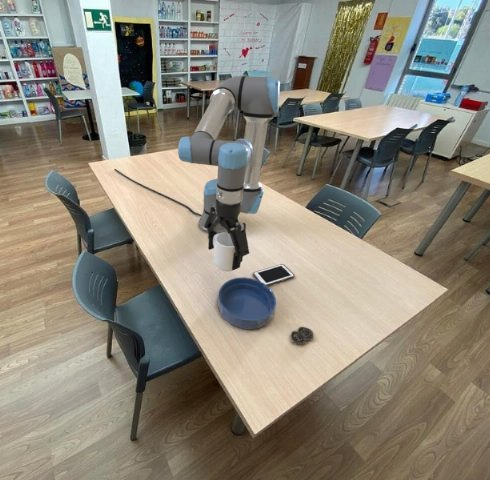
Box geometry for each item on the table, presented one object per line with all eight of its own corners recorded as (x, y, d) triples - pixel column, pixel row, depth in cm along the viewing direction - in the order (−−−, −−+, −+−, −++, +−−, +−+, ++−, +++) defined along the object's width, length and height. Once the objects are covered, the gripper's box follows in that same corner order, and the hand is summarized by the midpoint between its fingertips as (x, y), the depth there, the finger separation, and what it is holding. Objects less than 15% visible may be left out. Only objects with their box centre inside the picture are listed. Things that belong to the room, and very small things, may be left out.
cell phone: (252, 274, 111) (252, 272, 111) (282, 265, 116) (283, 263, 115) (263, 287, 106) (263, 285, 105) (294, 277, 110) (295, 275, 110)
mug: (203, 255, 97) (204, 230, 91) (222, 247, 101) (224, 223, 95) (223, 275, 89) (225, 250, 83) (243, 267, 92) (247, 241, 86)
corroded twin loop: (286, 336, 89) (286, 333, 88) (304, 326, 92) (305, 323, 91) (297, 348, 85) (298, 346, 84) (316, 337, 88) (317, 335, 88)
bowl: (206, 301, 100) (207, 291, 97) (245, 280, 109) (247, 270, 106) (244, 340, 87) (246, 330, 84) (285, 312, 96) (288, 302, 93)
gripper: (194, 187, 88) (193, 243, 100) (248, 222, 71) (239, 283, 84) (213, 182, 91) (210, 236, 104) (269, 214, 75) (257, 274, 87)
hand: (223, 257), depth 94 cm, fingers closed on mug, 12 cm apart
